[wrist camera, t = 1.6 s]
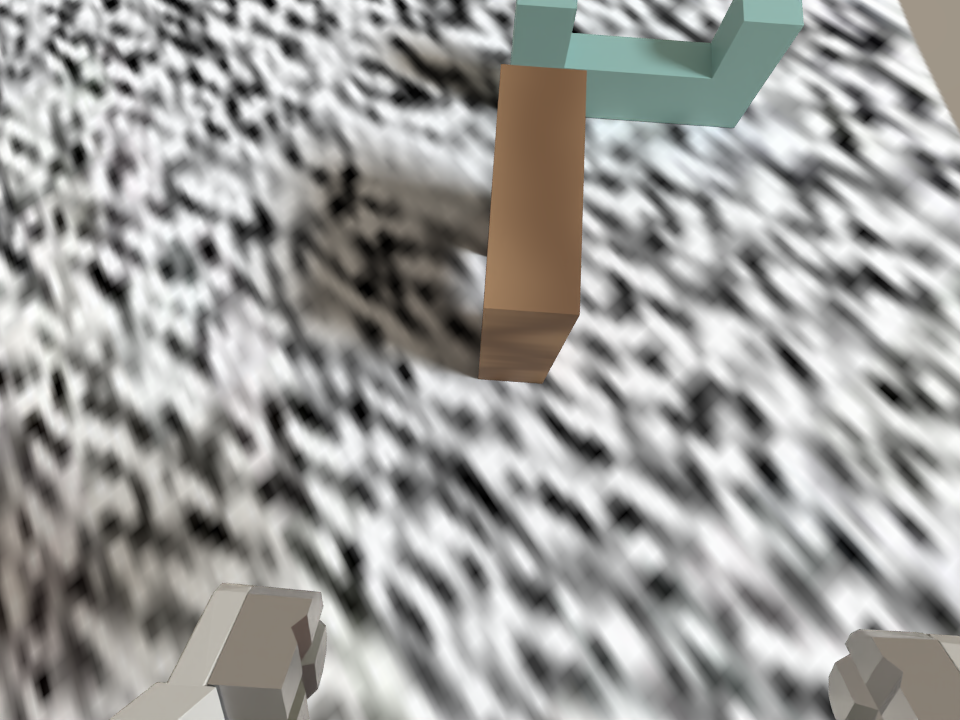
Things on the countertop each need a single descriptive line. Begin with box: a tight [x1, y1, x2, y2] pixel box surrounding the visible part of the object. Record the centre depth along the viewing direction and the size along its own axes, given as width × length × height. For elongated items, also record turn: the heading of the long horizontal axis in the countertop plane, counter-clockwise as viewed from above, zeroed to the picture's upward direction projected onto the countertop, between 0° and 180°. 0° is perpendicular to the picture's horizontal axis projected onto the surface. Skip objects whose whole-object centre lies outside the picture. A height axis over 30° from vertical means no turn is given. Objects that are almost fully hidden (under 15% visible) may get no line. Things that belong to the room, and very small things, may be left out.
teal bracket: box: [510, 0, 804, 128], centre depth 30 cm, size 12×2×7 cm, turn 86°
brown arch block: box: [478, 64, 587, 384], centre depth 25 cm, size 3×9×10 cm, turn 176°
